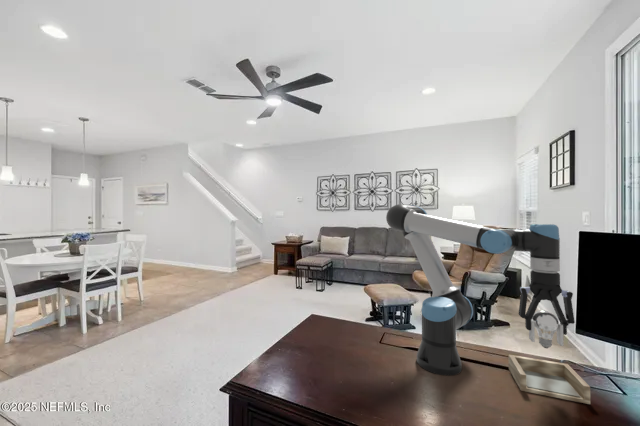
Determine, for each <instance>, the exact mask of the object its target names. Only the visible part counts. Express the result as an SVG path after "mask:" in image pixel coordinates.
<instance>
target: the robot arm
mask: <svg viewBox="0 0 640 426" xmlns="http://www.w3.org/2000/svg"><path fill="white" fill-rule="evenodd" d="M385 218H386V223H387V225H388V226H389V227H390V228H391V229H392V230H394V231H397V232H399V231H400V232H401V233H402V234H403V237H404V239H406V240H407V241H409V242H410V245H411V247H412V249H413V251H414V253H415V256H416V258H417V260H418V262H419V264H420V267H421V269H422V270H423V274H424V275H425V278H426V281H427V283H428V285H429V286H430V288H431V292H432V295H431V296H430V297H427V298H425V299H424V300H423V301H422V304H421V306H422V307H421V342H420V344H419V347H418V349H417V353H416V363H417V364H418V365H419V367H421V368H422V369H424V370H426V371H427V372H430V373H433V374H436V375H439V376H440V375H441V376H456V375H458V374H460V373H461V372H462V361H461V358H460V354H459V350H458V348H457V330H459V329H460V328H461V327H464V326H466V325H467V324H468V323H469V322H470V321H471V319H472V318H473V316H474V307H473V304H472V303H471V301H470V299H469V298H467V297H466V296H464V295H463V293H462V292H461V289H460V288H459V287H457V286H455V285H454V284H453V282H452V280H451V278H450V276H449V274H448V271H447V270H446V268H445V266H444V263H443V261H442V259H441V257H440V255H439V253H438V251H437V249H436V247H435V245H434V242H433V241H432V240H433V239H431V237H434V238H438V239H442V240H446V241H449V242H454V243H457V244H462V245H466V246H469V247H473V248H477V249H481V250H485V251H486V252H488V253H490V254H496V255H499V254H503V253H506V252H510V251H511V252H512V251H514V252H528V253H529V254H530V255H529V256H530V258H529V259H530V261H529V262H530V263H529V269H531V270H530V276H529V277H530V283H529V286H524V287H523V286H519V289H518V290H519V292H520V299H519V307H518V316H519V317H520V318H522V319H524V320H525V321H524V323H525V325H524V326H525V329H526V330H527V331H528V339H529V340H530V341H531V342H532V343H535V341H536V339H535V337H536V335H535V334H536V333H535V331H536V328H535V326H534V321H533V320H532V318H533V315H534V313H535V312H536V311H537V308H538V306H539V304H540V303H541V301H549V302H550V303H551V305H552V307H553V309H554V311H555V314H556V317H557V319H558V322H559V327H558V329H557V331H556V343H557V345H559V346H562V347H564V336H566V335H567V334H568V326H569V325H570V324H571V325H574V324H575V323H576V322H575V316H574V308H573V301H572V298H573V295H574V293H573V292H572V291H569V290H567V289H566V290H564V289H562V287H561V274H560V273H559V272H560V269H561V266H560V264H561V263H560V261H561V260H560V255H561V253H560V251H561V250H560V248H561V245H560V242H561V241H560V240H561V239H560V230H559V226H558V225H557V224H553V223H552V224H551V223H550V224H548V223H546V224H538V223H537V224H535V223H532V224H530V225H529V229H512V228H511V229H510V228H508V229H507V228H506V229H505V228H492V227H488V226H483V225H477V224H473V223H468V222H463V221H459V220H453V219H447V218H443V217H438V216H434V215H430V214H429V215H428V213H427V212H426V210H425V209H424V208H422V207H420V206H418V205H414V204H413V205H412V204H411V205H408V204H395V205H393V206H391V207H390V208H389V209H388V210H387V212H386V217H385ZM530 292H531V293H532V294H533V295H532V297H531V298H532V299H531V301H530V302H529V303H530V304H529V305H528V308H527V304H528V295H529V293H530ZM560 295H561V296H562V298H563V307H564V313H563V310H562V308H561V304H560V303H559V300H558V296H560Z"/></svg>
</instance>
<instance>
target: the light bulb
mask: <svg viewBox="0 0 640 426" xmlns="http://www.w3.org/2000/svg"><path fill="white" fill-rule="evenodd" d="M532 320H533V321H534V326H535V331H536V332H537V336H538V343H539V345H540V346H541V347H543V348H544V349H549V348H551V347H552V345H553V342H552V341H553V338H554V334H555V333H557V329H558V327H559V322H560V321H559V319H558V317H557V315H555V314H554V313H552V312H550V311H549V310H545V309H540V310H536V311H535V313H534V315H533V318H532Z"/></svg>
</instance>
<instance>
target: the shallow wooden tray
mask: <svg viewBox="0 0 640 426" xmlns="http://www.w3.org/2000/svg"><path fill="white" fill-rule="evenodd" d="M508 370H509V372H510V373H511V375H512V377H513V379H514V381H515V383H516V384H517V386H518V388H519V391H522V392H526V393H532V394H537V395H541V396H547V397H552V398H556V399H562V400H567V401H572V402H576V403H581V404H582V403H583V404H587V405H591V386H590V385H589V384H588V383H587V382H586V381H585V380H584V379H583V378H582V377H581V376H580V375H579V374H578V372H576V370H574V369H573V368H572V366H570V365H569V364H568V363H563V362H556V361H551V360H546V359H537V358H532V357H527V356H520V355H513V354H508Z"/></svg>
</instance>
